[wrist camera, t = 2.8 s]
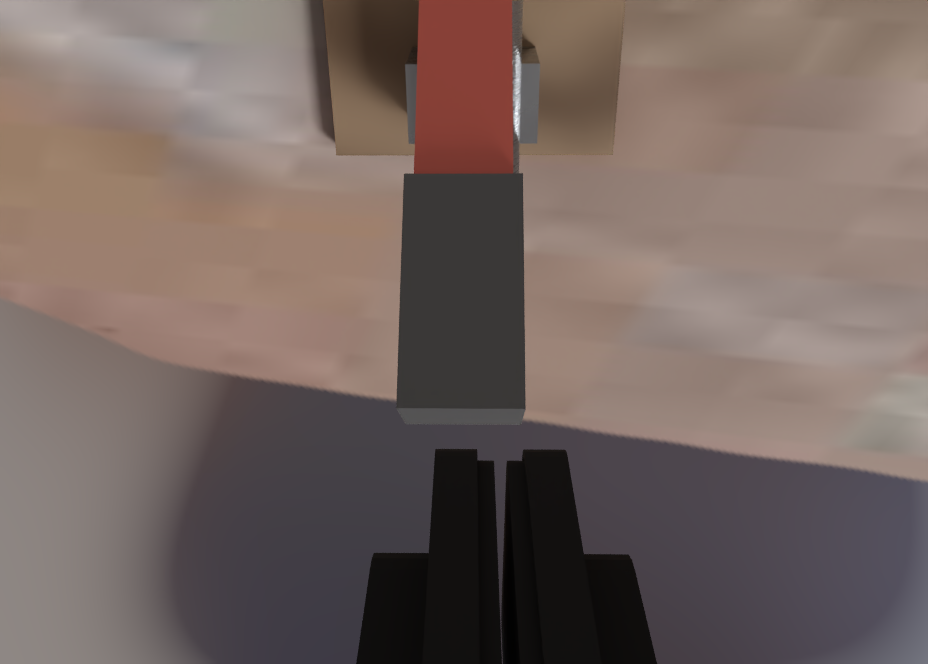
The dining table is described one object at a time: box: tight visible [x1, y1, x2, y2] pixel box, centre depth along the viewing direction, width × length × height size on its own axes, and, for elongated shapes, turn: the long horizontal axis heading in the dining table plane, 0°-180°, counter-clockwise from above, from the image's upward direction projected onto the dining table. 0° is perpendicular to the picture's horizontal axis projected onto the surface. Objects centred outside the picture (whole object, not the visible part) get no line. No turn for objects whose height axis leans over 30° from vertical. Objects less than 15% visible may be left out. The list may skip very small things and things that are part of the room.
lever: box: [397, 0, 525, 425], centre depth 19 cm, size 16×3×2 cm
